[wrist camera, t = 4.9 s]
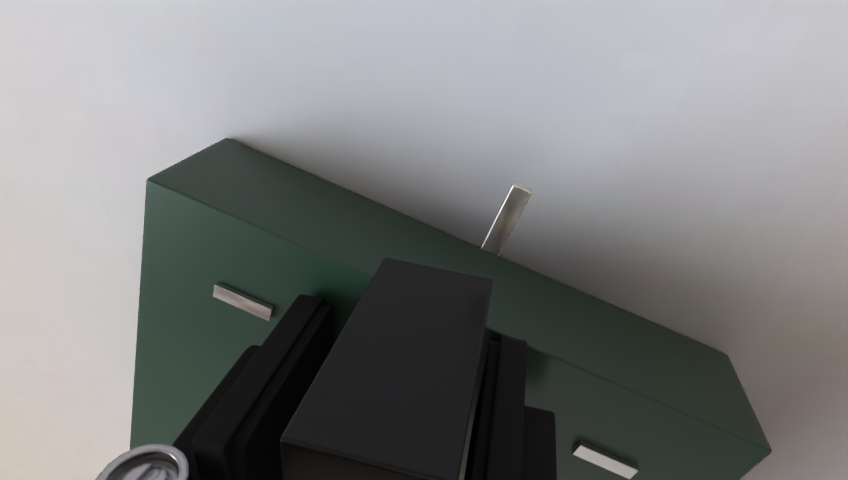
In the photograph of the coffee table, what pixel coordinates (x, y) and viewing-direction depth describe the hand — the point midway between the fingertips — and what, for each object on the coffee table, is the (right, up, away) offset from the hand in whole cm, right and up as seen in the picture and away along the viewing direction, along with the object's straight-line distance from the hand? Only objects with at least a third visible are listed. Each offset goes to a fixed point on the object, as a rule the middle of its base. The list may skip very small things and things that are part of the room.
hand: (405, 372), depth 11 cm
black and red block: (0, 0, 0) cm, 0 cm away
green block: (0, -1, +4) cm, 4 cm away
